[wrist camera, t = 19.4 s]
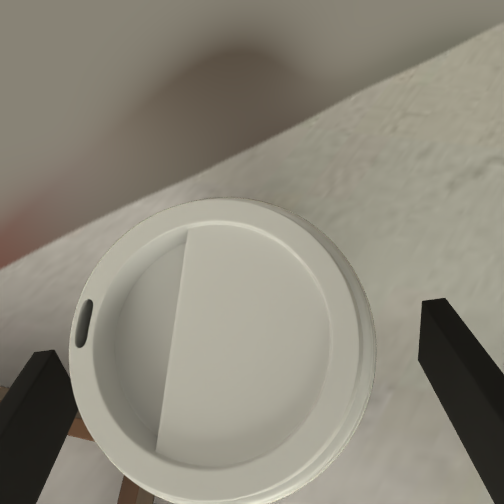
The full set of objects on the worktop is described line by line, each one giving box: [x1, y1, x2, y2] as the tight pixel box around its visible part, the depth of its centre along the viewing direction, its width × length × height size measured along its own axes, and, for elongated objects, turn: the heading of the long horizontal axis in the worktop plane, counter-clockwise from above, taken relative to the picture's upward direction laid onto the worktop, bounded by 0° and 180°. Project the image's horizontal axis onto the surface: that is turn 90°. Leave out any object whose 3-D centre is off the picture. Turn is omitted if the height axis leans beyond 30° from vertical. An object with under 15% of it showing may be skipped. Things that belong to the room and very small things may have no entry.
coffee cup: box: [69, 197, 376, 504], centre depth 17 cm, size 10×10×15 cm
